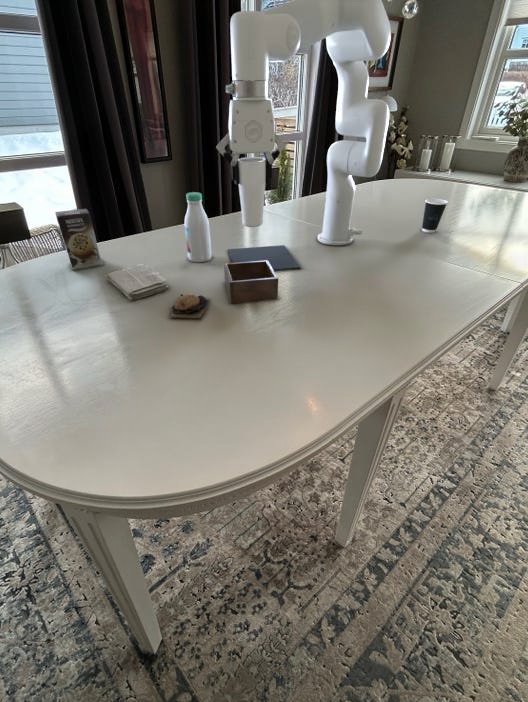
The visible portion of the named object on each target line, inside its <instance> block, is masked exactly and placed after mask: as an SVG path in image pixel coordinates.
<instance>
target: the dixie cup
mask: <svg viewBox="0 0 528 702" xmlns="http://www.w3.org/2000/svg"><path fill="white" fill-rule="evenodd" d="M424 201H425V203H424V211H423V217H422V225H421V231H422V232H424V233H429V234H433V233H435V232H436V230H437V229H438V227H439V224H440V223H441V219H442V217H443V214H444V212H445V209H446V207H447V205H448V203H449V201H448V200H445V199H442V198H426V199H425V200H424Z"/></svg>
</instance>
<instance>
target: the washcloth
mask: <svg viewBox="0 0 528 702" xmlns="http://www.w3.org/2000/svg"><path fill="white" fill-rule="evenodd" d="M106 279H107V280H108V281H109V282H110V283H112V285H114V287H116V288H117V289H118V290H119V291H121V293H123V294H124V296H126V298H128V299H129V300H130V301H136V300H139V299H141V298H146V297H148V296H151V295H154V294H158V293H160V292H163V291H166V290H168V289H169V286H168V285H167V284H166V278H164V277H163V276H162V275H161V273H160V272H158V271H156V270H154V269H153V268H152V267H150V266H148V265H147V264H146V263H139V264H135V265H132V266H130V267H127V268H124V269H119V270H116V271H112V272H108V273H107V274H106Z"/></svg>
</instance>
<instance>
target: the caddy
mask: <svg viewBox="0 0 528 702" xmlns="http://www.w3.org/2000/svg"><path fill="white" fill-rule="evenodd" d="M223 272H224V284H225V288H226V291H227V296H228V298H229V302H230V304H241V303H242V304H243V303H251V302H261V301H262V302H263V301H271V300H273V301H274V300H278V299H279V277H278V275H277V273H276V271H274V270H273V268H272V267H271V265H270V263H269V261H268V260H264V261H251V262H238V263H232V262H228V263H227V262H225V263H223Z"/></svg>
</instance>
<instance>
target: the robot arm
mask: <svg viewBox="0 0 528 702" xmlns="http://www.w3.org/2000/svg"><path fill="white" fill-rule="evenodd" d="M390 23H391V22H390V20H389V16H388V14H387V10H386V9H385V6H384V3H383V1H382V0H290V1H287V2H285V3H282V4H279V5H276V6H273V7H270V8H266V9H263V10H261V11H257V10H242V11H237V12H235V13H233V14H232V16H231V18H230V23H229V27H230V28H229V29H230V55H231V56H230V57H231V77H232V81H231V83H229V84H225V93H226V94H230V95H232V96H231V97H232V99H230V100H229V107H228V123H227V124H228V125H227V127H228V128H227V129H228V131H227V133H226V135H225V136H224V137H223V138H222V139H221V140H220V142H219V143H218V144H216V147H215V148H216V150H217V151H218V153H220V154H221V155H222V157H223V158H224V159H225V160H226V161H227V162H228V164H230V170H231V171H230V173H231V181H234V184H235V185H236V186H237V185H238V184H239V167H238V166H237V161H238V159H240V156H241V155H242V154H243V155H244V154H245V155H247V154H263V157H264V159H265V160H266V183H267V184H271V183H270V182H271V179H272V178H273V165H274V162H275V161H276V160H277V158H278V157H280V155H281V153H282V152H283V151H284V149H285V148H286V143H285V141H284V140H282V139H281V137H280V136H278V134H276V132H275V131H276V130H275V114H274V105H273V100H272V99H271V98H269V63H276V62H287V61H289V60H290V59H292V58H293V57H294V56H295V55H296V54H297V52H298V50H299V49H300V48H304V47H309V46H312V45H315V44H318V42H320V41H323V40H324V39H325V43H326V44H325V45H326V50H327V53H328V55H329V57H330V59H331V60H332V63H333V65H334V67H335V69H336V73H337V78H338V86H337V87H338V88H337V89H338V90H337V99H336V111H335V123H334V124H335V126H334V127H335V131H336V132H337V133H338V135H341V136H347V137H357V138H365V141H359V140H357V141H356V140H347V139H346V140H338V141H335V142H333V143H332V144H331V145H330V147H329V148H328V150H327V154H326V167H327V169H326V170H327V184H326V193H325V204H324V211H323V221H322V232H320V233H318V235H317V241H318V242H319V243H321V244H323V245H328V246H336V247H337V246H347V245H350V244H351V243H353V236H355V235H356V236H358V235H359V236H360V235H362V233H363V230H362V228H356V227H351V223H352V222H351V221H352V214H353V207H354V200H355V195H356V185H355V181H354V178H353V176H354V177H362V178H372V177H374V176H376V175H377V174H378V172H379V171H380V169H381V166H382V163H383V157H384V152H385V146H386V139H387V134H388V129H389V122H390V121H389V120H390V108H389V105H388V103H387V102H386V101H385V100H383V99H379V98H368V91H369V80H370V78H369V77H370V76H369V71H368V68H367V66H366V64H365V62H369V61H370V62H372V61H378V60H380V59H381V58H382V57H384V56H385V54H386V53H387V52H388V49H389V47H390V44H391V37H392V29H391V24H390ZM227 145H228V147H229V149H230V151H232V152H231V155H230V153H228V151H227V150H226V148H225V147H226V146H227ZM275 146H276V147H275ZM238 186H239V185H238Z"/></svg>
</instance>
